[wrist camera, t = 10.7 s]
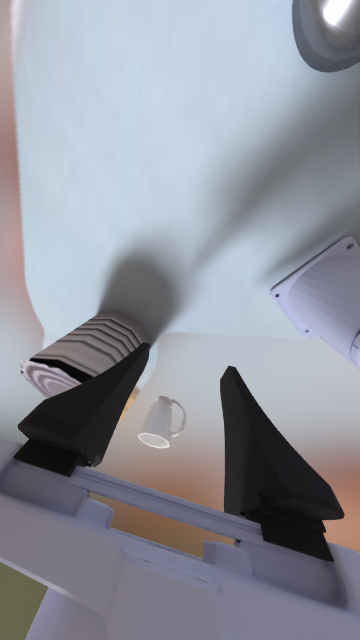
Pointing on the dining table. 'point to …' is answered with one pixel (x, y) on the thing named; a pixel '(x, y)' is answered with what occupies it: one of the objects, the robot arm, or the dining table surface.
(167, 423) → the cup
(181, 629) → the robot arm
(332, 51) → the ratchet
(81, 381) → the can
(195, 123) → the dining table surface
